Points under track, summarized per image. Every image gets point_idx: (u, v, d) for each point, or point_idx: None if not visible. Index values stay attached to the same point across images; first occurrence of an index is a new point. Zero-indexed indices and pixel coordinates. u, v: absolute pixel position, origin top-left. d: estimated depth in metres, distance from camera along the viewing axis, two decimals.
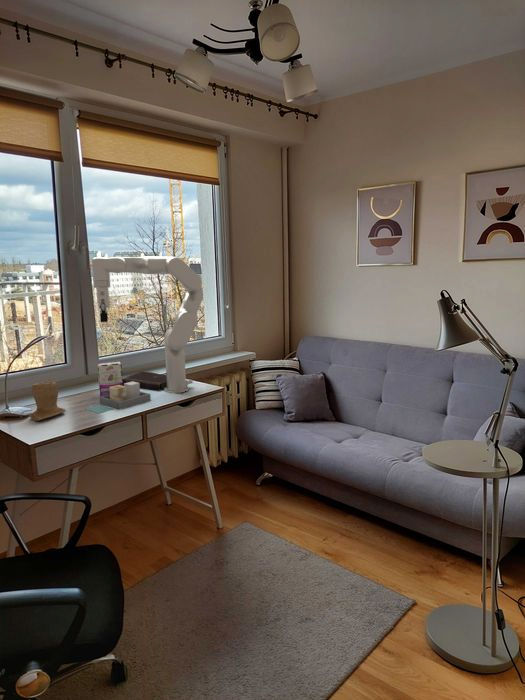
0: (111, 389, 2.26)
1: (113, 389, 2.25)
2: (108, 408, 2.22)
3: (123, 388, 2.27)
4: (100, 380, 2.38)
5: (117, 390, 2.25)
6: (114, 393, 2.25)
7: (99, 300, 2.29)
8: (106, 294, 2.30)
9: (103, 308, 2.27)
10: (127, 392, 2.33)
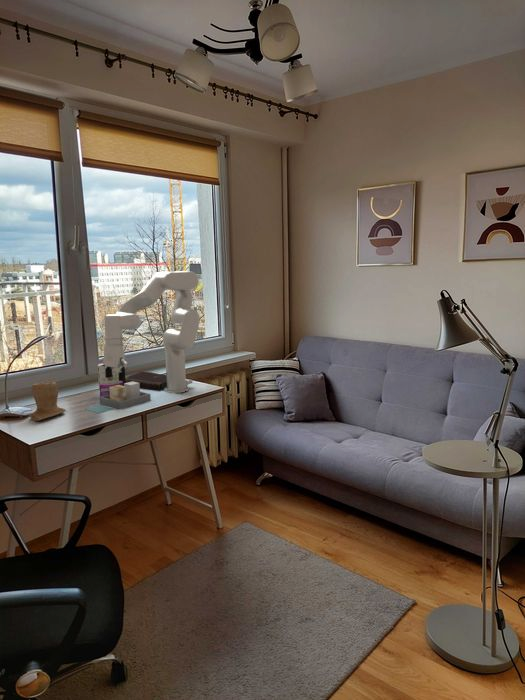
0: (111, 389, 2.26)
1: (113, 389, 2.25)
2: (108, 408, 2.22)
3: (123, 388, 2.27)
4: (100, 380, 2.38)
5: (117, 390, 2.25)
6: (114, 393, 2.25)
7: None
8: None
9: None
10: (127, 392, 2.33)
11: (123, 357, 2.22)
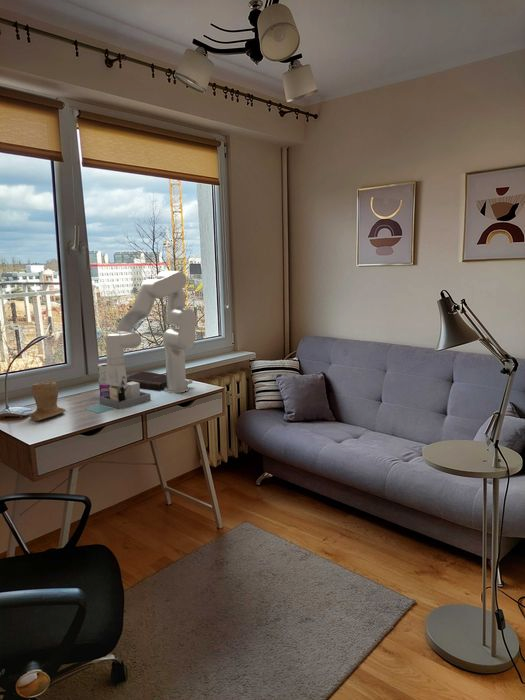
0: (111, 389, 2.26)
1: (113, 389, 2.25)
2: (108, 408, 2.22)
3: None
4: (100, 380, 2.38)
5: (117, 390, 2.25)
6: (114, 393, 2.25)
7: None
8: None
9: None
10: (127, 392, 2.33)
11: (125, 376, 2.24)
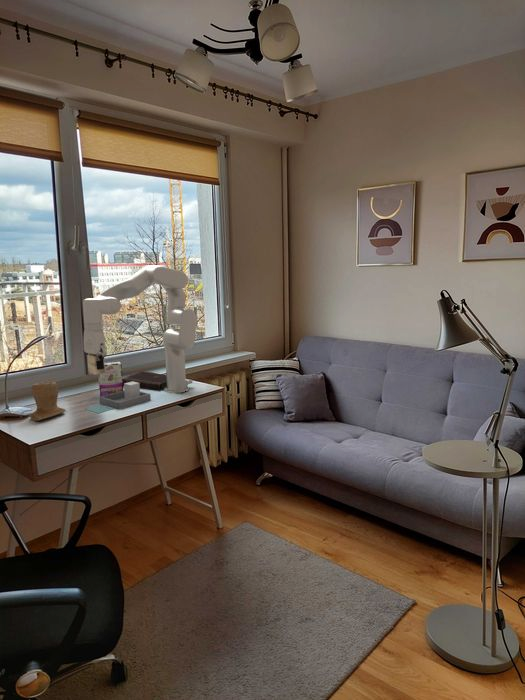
0: (89, 357, 2.15)
1: (91, 357, 2.14)
2: (108, 408, 2.22)
3: None
4: (100, 380, 2.38)
5: (95, 358, 2.14)
6: (92, 361, 2.14)
7: None
8: None
9: None
10: (127, 392, 2.33)
11: (103, 343, 2.13)
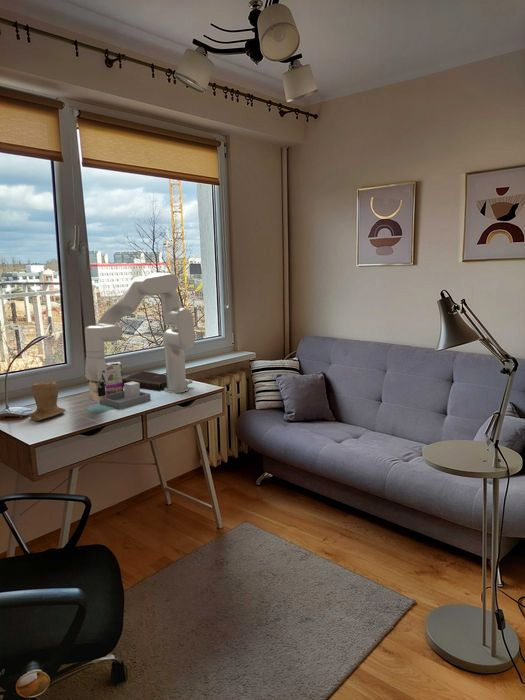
0: (90, 384, 2.17)
1: (92, 384, 2.17)
2: (108, 408, 2.22)
3: None
4: None
5: (97, 385, 2.16)
6: (94, 388, 2.16)
7: None
8: None
9: None
10: (127, 392, 2.33)
11: (105, 370, 2.16)
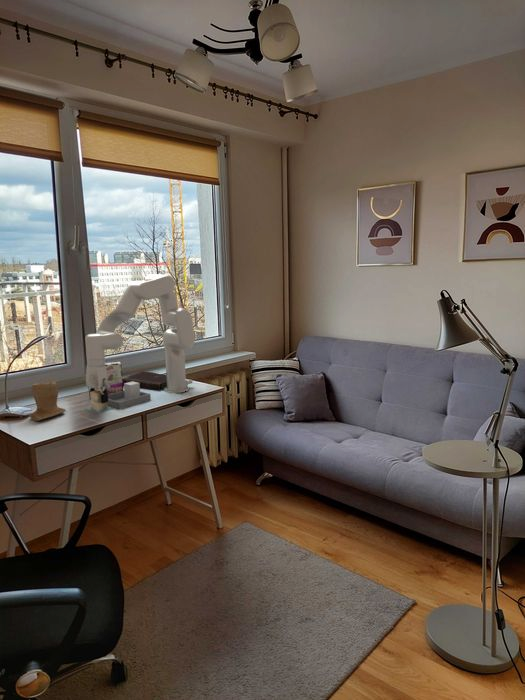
0: (92, 394, 2.19)
1: (94, 394, 2.18)
2: (108, 408, 2.22)
3: None
4: None
5: (98, 395, 2.17)
6: (95, 398, 2.18)
7: None
8: None
9: None
10: (127, 392, 2.33)
11: (106, 378, 2.16)
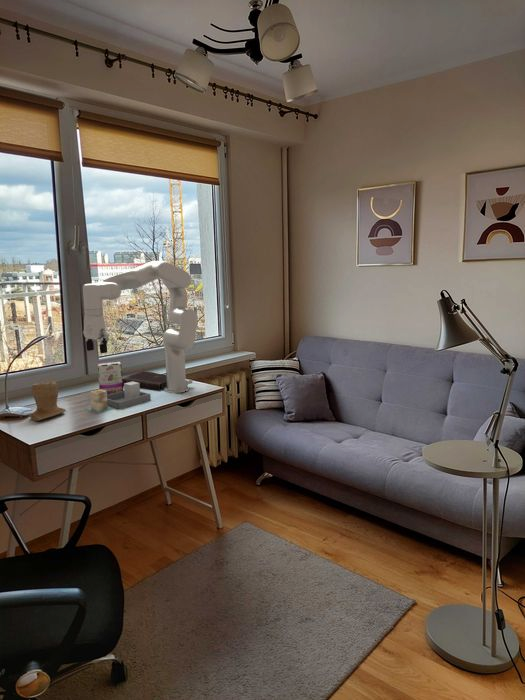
0: (92, 394, 2.19)
1: (94, 394, 2.18)
2: (108, 408, 2.22)
3: (104, 393, 2.19)
4: (100, 380, 2.38)
5: (98, 395, 2.17)
6: (95, 398, 2.18)
7: None
8: None
9: None
10: (127, 392, 2.33)
11: (104, 328, 2.14)
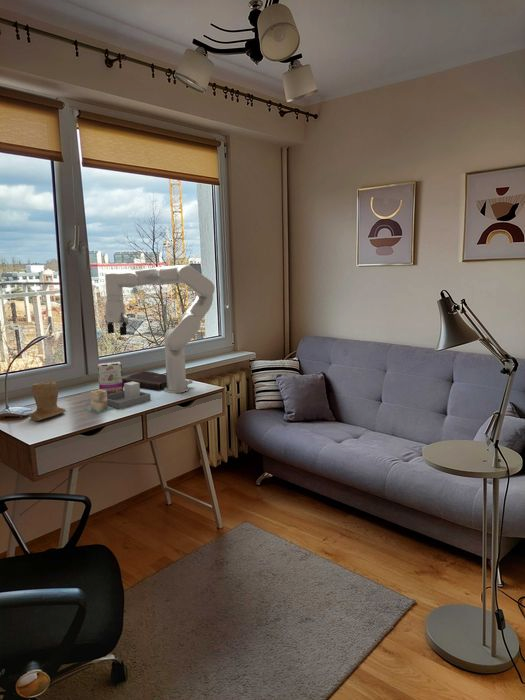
0: (92, 394, 2.19)
1: (94, 394, 2.18)
2: (108, 408, 2.22)
3: (104, 393, 2.19)
4: (100, 380, 2.38)
5: (98, 395, 2.17)
6: (95, 398, 2.18)
7: None
8: None
9: None
10: (127, 392, 2.33)
11: (124, 313, 2.36)
